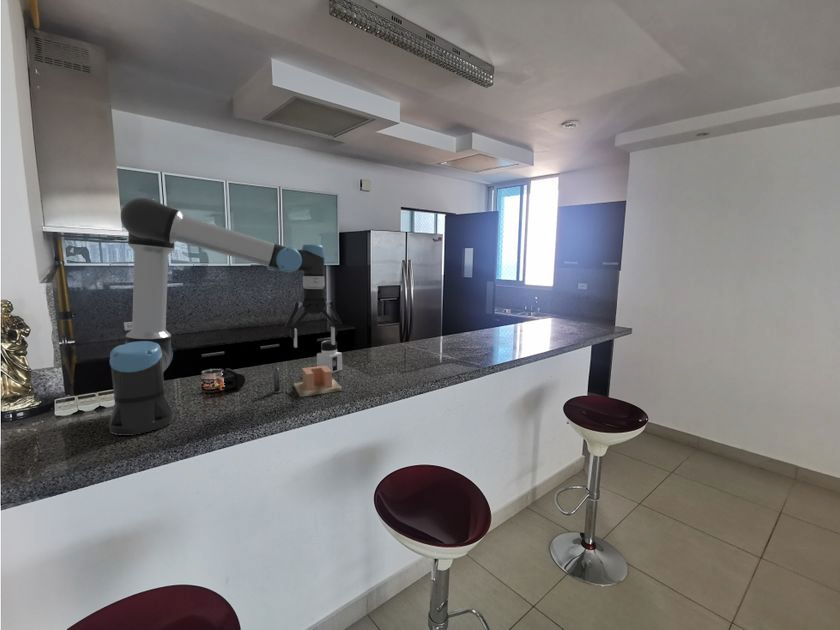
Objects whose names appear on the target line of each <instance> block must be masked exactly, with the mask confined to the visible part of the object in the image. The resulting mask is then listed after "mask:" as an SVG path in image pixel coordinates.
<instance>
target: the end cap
mask: <svg viewBox="0 0 840 630" xmlns="http://www.w3.org/2000/svg"><path fill="white" fill-rule="evenodd" d="M222 373H223V375H222V376H220V377H221V378H222V379H223V378H224V383H225V384H224V385H225V387H222V389H224V390H222V391H223V392H222V391H221V392H222V393H223V394H230V393H235V392H238V391H239V390H241V389H242V388H243V387H244V385H245V383H246V377H245V375H244V374H242V373H241V372H238V371H236V370H234V369H231V368H225V370H222Z"/></svg>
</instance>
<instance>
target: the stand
mask: <svg viewBox="0 0 840 630" xmlns="http://www.w3.org/2000/svg"><path fill="white" fill-rule="evenodd" d="M272 373H273V375H272V376H273V390H272V393H273V394H276V395H277V394H281V392H282V389H281V383H280V368H279V367H273V368H272Z"/></svg>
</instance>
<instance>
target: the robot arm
mask: <svg viewBox="0 0 840 630" xmlns="http://www.w3.org/2000/svg"><path fill="white" fill-rule="evenodd" d="M120 221H121V223H122V225H123V227H124V229H125V230H126V231H127V232H128V237H127V239H128V241H127V243H128V246H129V247H130V248H131V249H132V250H133V254H134V255H133V283H132V284H133V289H132V290H133V293H132V325H131V330H130V331H128V332H127V333H126V334H125V343H124V344H120V345H117V346H116V347H113V349H112V350H111V351H110V352H109V354H110V355H109V367H110V370H111V380H112V388H113V389H112V390H113V398H114V406H113V410H112V412H111V416H110V419H109V423H108V428H109V429H110V430H109V432H110V431H111V432H113V433H116V434H122V435H123V434H138V433H144V434H146V433H145V432H149V431H152V430H156V429H158V428H161V427H163V426H165V425H167V424H169V423H170V422H172V421H173V419H174V420H175V415H174V414H175V412H174V410H173V408H172V407H171V404H170V402H169V400H168V399H167V396H166V393H165V384H164V382H165V379H164V372H165V371H166V370H167V369H168V368H169V366H170V365H171V363H172V360H173V357H174V356H173V355H174V352H173V348H172V334H171V333H170V332H168V330H167V329H166V326H167V302H168V301H167V300H168V273H169V269H168V268H169V255H170V253H171V252H173V251H174V250H175V243H176V242H178V243H182V244H186V245H190V246H193V247H197V248H201V249H203V250H207V251H211V252H214V253H218V254H222V255H226V256H228V257H232V258H236V259H239V260H244V261H247V262H250V263H254V264H258V265H261V266H265V267H266V268H267V270H268V271H272V272H285V273H288V274H290V273H294V272H302V287H303V291H302V296H303V297H302V298H303V299H302V302H301V301H296V300H295V301H294V302H293V309H292V310H291V312H290V314H289V316H288V318H287V320H286V322H285V324H284V326H285V328H287V329H290V337H291V339H293V347H294V348H295V349H296V348H298V329H297V328H296V327H297V326H298V325H299V324H300V323H301V322H302V320H303V319H304V318H305V317H306V316H307V315H308V314H310V315H313V314H316V315H317V314H320V313H321V314H322V315H323V316H324V317H325V318H326V319H327V321H329V323H330V324H331V325H332V326H330V340H331V344H332V345H335V341H336V336H338V328H339V327H340V326H343V321H342V320H341V318H340V316H339V314H338V311H337V309H336V308H335V303H334V301H332V300H329V301H326V300H325V299H326V295H325V293H326V292H325V288H324V287H325V284H326V283H325V259H326V258H325V250H324V249H325V248H324V246H323V245H322V244H303V245H302V248H301V249H296V248H293V247H288V246H284V245H280V244H276V243H275V242H270V241H268V240H264V239H261V238H258V237H254V236H251V235H248V234H246V233H241V232H238V231H235V230H232V229H228V228H227V227H226V228H225V227H222V226H219V225H216V224H213V223H209V222H206V221H202V220H199V219H196V218H193V217H191V216H186V215H184V213H182V211H181V210H179V209H177V208H176V209H175V208H173V207H170V206H168V205H165V204H162V203H161V202H158V201H157V200H154V199H152V198H148V197H138V198H133V199H130V200H129V201H127V202H126V203H125V204H124V206H123V207H122V209H121V212H120ZM301 306H302V308H303V310H302V311H301V313H300V314H299V315H298V317H297V318H295V317H296V314H297V313H298V310H299V309H300V308H301ZM326 306H327V307H328V308H329V309H330V311H331V313H332V316H333V317H334V319H335V320H334V319H333V318H332V317H331V316H330V315H329V314H328V312H327V311H326V310H325V309H324V308H325V307H326ZM294 319H295V320H294ZM173 422H174V421H173ZM173 422H172V423H173ZM169 425H170V424H169ZM163 428H164V427H163ZM161 429H162V428H161ZM158 430H159V429H158ZM156 431H157V430H156ZM152 432H153V431H152ZM149 433H150V432H149Z"/></svg>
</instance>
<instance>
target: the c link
mask: <svg viewBox="0 0 840 630" xmlns="http://www.w3.org/2000/svg"><path fill="white" fill-rule="evenodd" d="M301 369H302V370H301V373H302V374H301V375H302V382H303V385H304V386H305V388H306V390H307V391H309V390H314V384H319V383H322V384H323V386H324V387H325V388H330V387H332V378H333V373H332V371H331V370H330V369H329V368H328V367H327V366H317V365H316V366H309V367H303V368H301Z"/></svg>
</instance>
